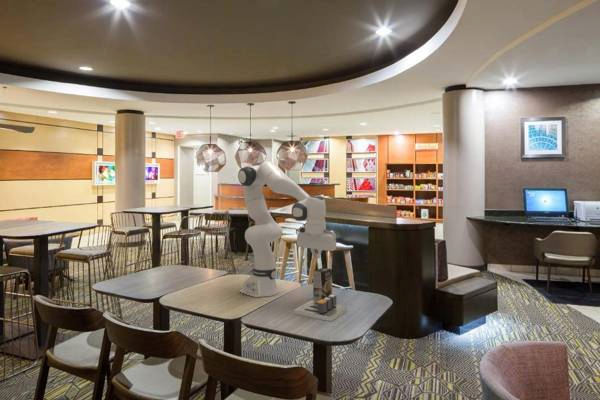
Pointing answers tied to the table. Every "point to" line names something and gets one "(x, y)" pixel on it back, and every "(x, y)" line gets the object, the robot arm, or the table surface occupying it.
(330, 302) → the block
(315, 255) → the robot arm
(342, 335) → the table surface
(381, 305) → the table surface
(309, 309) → the panel
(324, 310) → the breaker
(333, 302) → the breaker
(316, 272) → the coffee box
